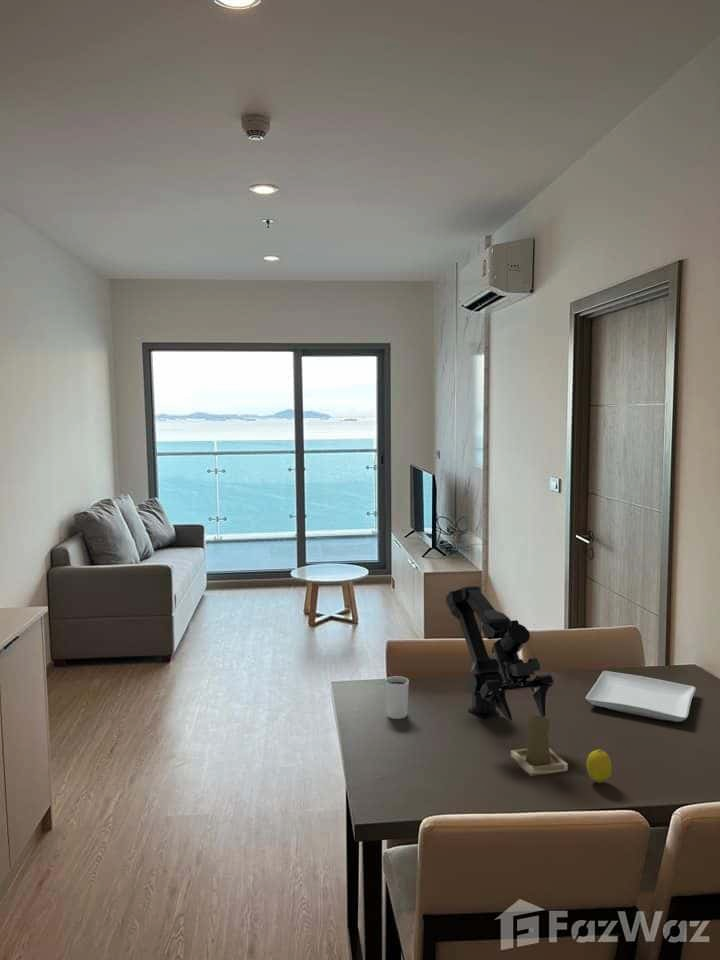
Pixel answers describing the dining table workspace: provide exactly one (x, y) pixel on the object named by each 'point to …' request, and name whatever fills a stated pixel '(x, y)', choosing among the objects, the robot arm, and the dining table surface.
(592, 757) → the lemon
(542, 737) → the olive green cylinder
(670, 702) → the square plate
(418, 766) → the dining table surface
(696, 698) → the dining table surface
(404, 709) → the drinking glass
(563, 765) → the holder
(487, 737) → the dining table surface
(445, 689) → the dining table surface
